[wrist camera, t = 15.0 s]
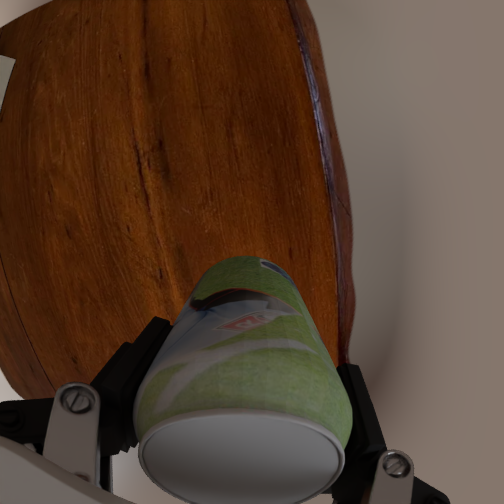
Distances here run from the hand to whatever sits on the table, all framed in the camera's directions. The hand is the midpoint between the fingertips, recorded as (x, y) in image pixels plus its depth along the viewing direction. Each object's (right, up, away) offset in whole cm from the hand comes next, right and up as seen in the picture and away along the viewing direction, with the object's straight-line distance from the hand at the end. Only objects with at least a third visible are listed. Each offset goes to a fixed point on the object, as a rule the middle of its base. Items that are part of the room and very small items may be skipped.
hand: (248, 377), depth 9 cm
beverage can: (+1, +2, +7) cm, 7 cm away
